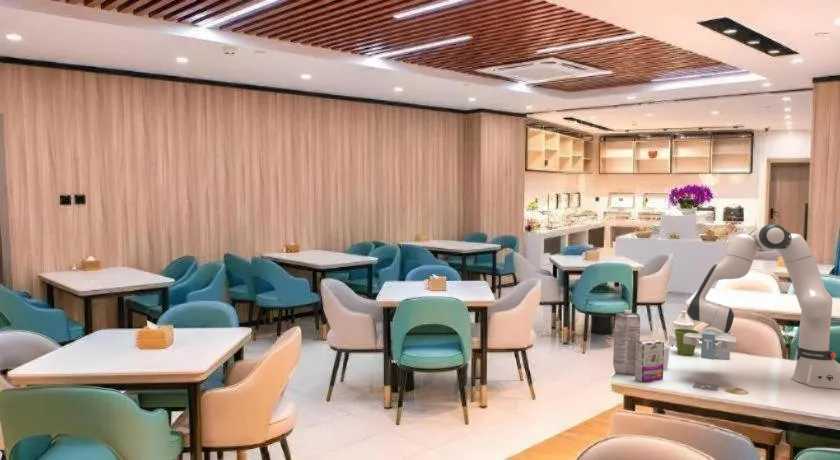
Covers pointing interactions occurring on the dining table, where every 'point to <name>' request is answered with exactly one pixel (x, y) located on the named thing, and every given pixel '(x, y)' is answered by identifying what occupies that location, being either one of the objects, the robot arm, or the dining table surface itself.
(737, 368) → the dining table surface
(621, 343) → the juice carton
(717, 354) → the medicine box
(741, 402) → the dining table surface
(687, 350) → the plant pot
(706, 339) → the letter block
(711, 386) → the tile
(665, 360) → the white cup
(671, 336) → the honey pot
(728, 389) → the coaster
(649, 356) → the candy bar box
